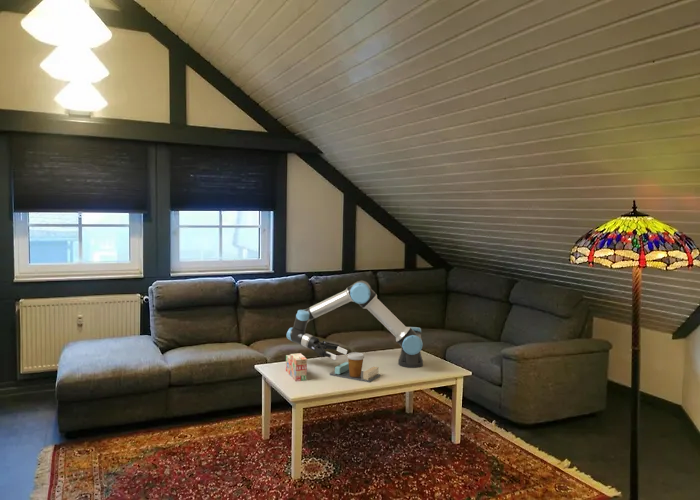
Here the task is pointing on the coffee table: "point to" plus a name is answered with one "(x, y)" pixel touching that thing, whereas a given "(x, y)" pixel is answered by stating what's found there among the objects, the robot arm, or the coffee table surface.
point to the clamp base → (365, 376)
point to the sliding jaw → (342, 368)
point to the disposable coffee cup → (355, 363)
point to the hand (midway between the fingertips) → (341, 355)
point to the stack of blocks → (296, 366)
